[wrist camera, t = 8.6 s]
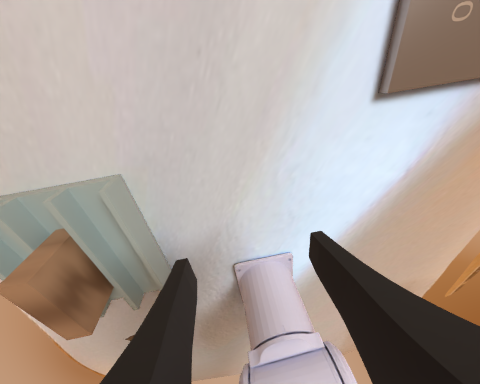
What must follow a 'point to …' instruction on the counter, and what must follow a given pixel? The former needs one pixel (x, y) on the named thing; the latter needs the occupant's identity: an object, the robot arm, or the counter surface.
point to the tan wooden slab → (59, 287)
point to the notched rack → (87, 233)
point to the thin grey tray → (432, 44)
